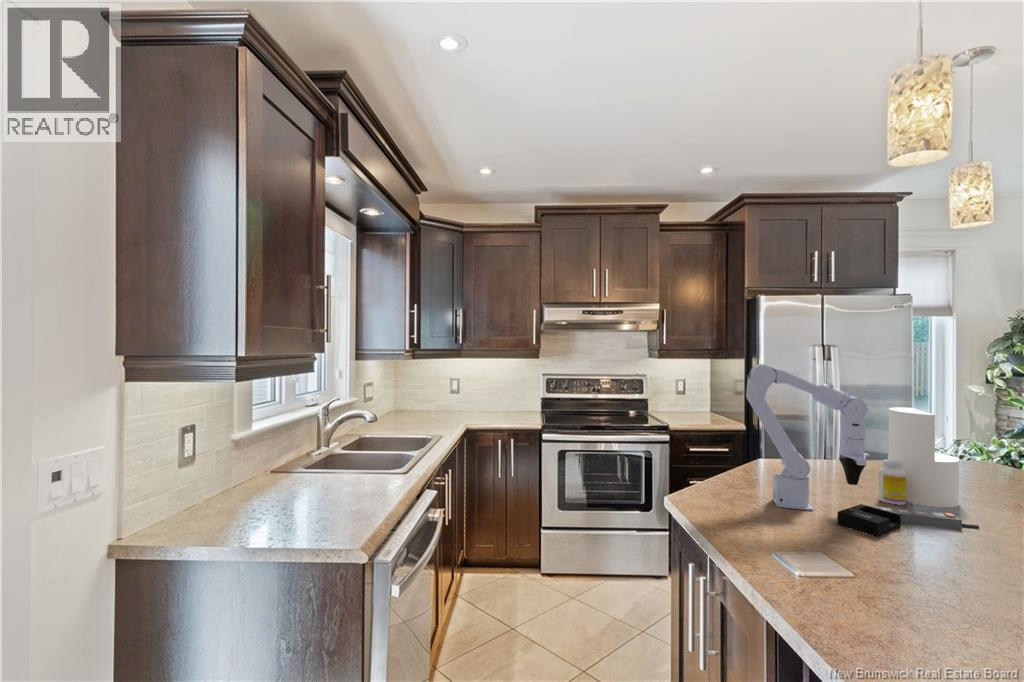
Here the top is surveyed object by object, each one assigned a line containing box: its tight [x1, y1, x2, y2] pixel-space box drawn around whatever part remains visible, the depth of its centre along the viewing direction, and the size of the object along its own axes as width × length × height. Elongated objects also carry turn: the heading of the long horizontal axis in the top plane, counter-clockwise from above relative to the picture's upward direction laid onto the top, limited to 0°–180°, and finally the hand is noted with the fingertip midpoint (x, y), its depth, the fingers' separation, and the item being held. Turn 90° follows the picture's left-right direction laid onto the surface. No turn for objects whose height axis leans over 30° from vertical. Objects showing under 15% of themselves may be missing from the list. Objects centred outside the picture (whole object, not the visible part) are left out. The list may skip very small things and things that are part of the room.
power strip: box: [865, 504, 980, 530], centre depth 131 cm, size 25×5×3 cm, turn 72°
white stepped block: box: [887, 407, 960, 508], centre depth 152 cm, size 17×17×28 cm
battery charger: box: [836, 503, 902, 538], centre depth 128 cm, size 13×10×4 cm
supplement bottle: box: [878, 458, 907, 506], centre depth 148 cm, size 7×7×13 cm
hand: (852, 484), depth 139 cm, fingers closed
